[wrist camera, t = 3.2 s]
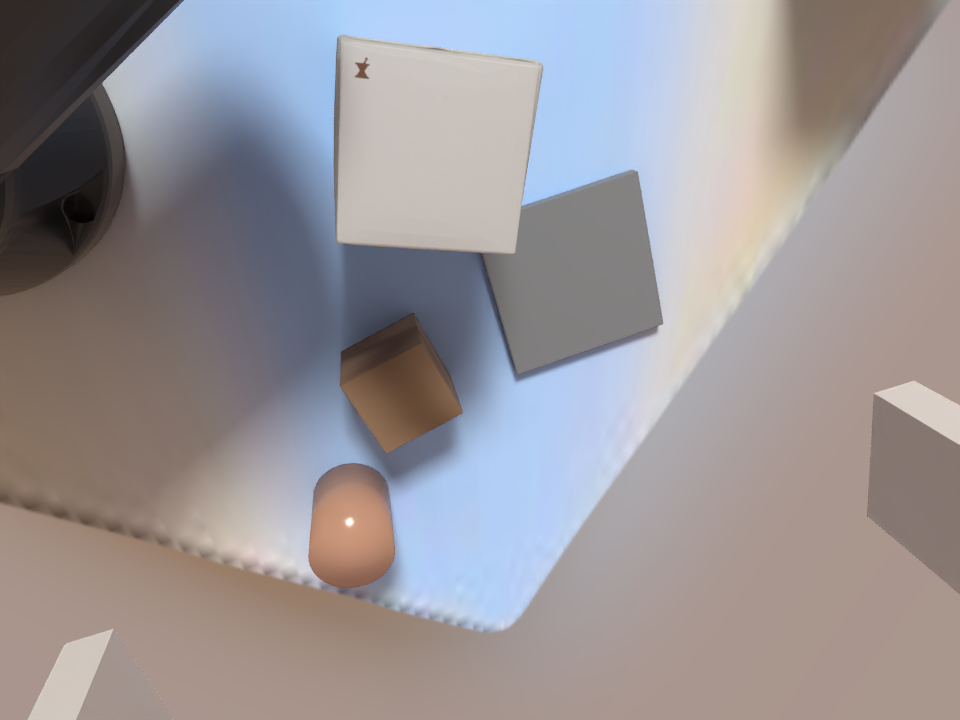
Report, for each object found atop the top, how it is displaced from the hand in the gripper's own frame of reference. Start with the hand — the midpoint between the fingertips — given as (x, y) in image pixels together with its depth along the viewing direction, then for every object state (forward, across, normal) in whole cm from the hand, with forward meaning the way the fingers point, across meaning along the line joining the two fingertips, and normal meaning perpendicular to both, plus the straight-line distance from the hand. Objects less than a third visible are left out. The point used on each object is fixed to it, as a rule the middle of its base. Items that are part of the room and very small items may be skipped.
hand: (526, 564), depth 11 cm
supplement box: (+29, +2, +5) cm, 29 cm away
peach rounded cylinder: (+29, -8, -17) cm, 34 cm away
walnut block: (+29, -3, -9) cm, 30 cm away
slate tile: (+28, +9, -6) cm, 31 cm away
